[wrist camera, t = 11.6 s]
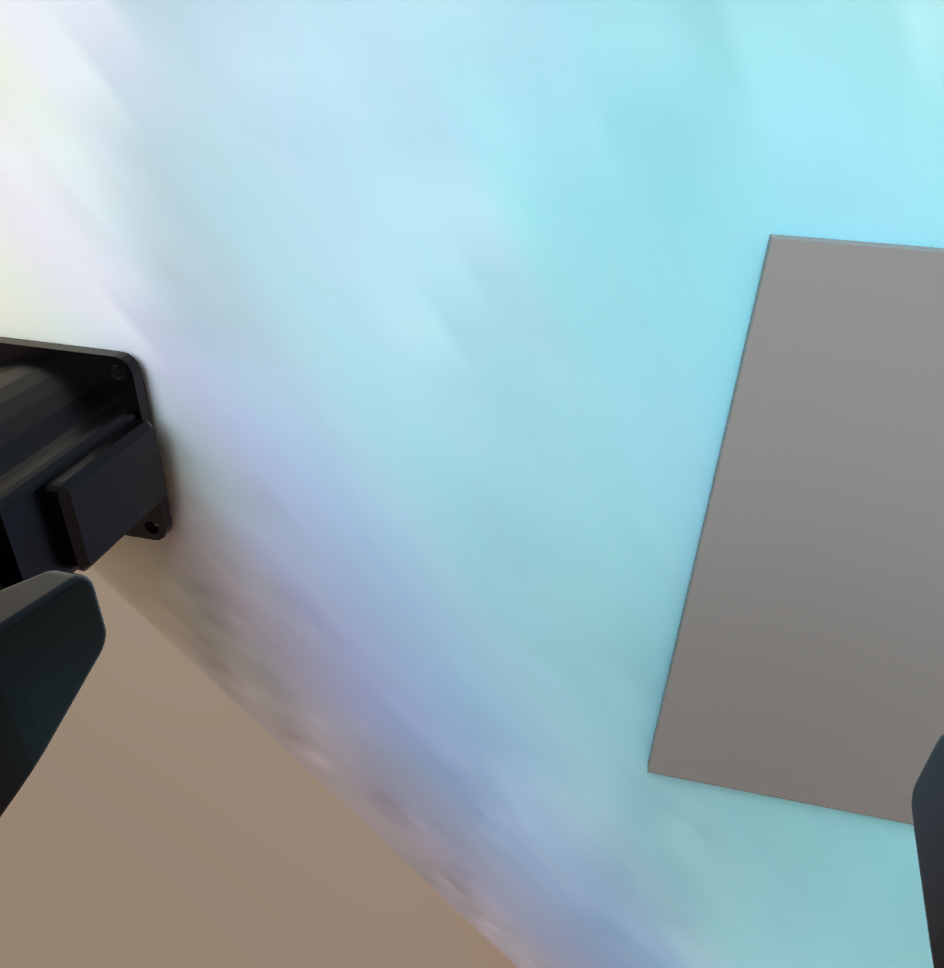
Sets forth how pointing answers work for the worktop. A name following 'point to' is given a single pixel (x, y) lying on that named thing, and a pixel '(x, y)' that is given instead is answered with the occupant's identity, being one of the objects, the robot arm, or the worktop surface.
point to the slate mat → (822, 542)
